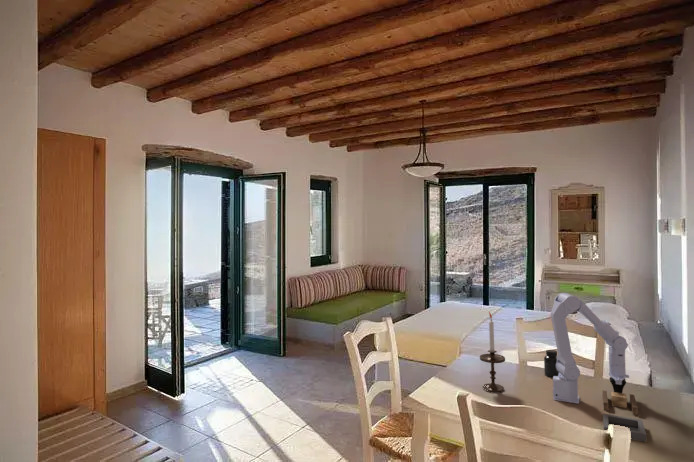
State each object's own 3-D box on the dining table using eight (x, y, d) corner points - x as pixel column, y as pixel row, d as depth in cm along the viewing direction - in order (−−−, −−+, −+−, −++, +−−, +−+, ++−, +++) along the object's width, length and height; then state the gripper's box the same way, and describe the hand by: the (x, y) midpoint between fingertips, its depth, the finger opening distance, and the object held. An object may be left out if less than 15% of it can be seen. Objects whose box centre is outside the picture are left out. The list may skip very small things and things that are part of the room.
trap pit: (604, 434, 145) (604, 426, 145) (603, 420, 155) (602, 413, 155) (646, 442, 139) (646, 434, 139) (642, 426, 149) (642, 420, 149)
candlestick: (479, 392, 185) (477, 313, 185) (481, 383, 195) (479, 309, 195) (505, 394, 181) (503, 314, 181) (506, 386, 191) (504, 310, 191)
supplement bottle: (561, 378, 199) (561, 353, 199) (546, 377, 200) (545, 352, 200) (557, 373, 206) (556, 349, 206) (542, 372, 207) (542, 348, 207)
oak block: (611, 405, 168) (611, 395, 168) (611, 401, 172) (611, 391, 172) (626, 408, 165) (626, 398, 165) (626, 403, 169) (625, 393, 169)
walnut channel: (603, 410, 163) (603, 402, 163) (602, 397, 175) (602, 390, 175) (637, 415, 158) (637, 407, 158) (634, 402, 170) (634, 394, 170)
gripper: (630, 370, 165) (631, 404, 164) (627, 360, 177) (628, 391, 177) (609, 367, 168) (610, 401, 168) (607, 357, 181) (608, 389, 181)
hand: (618, 396), depth 173 cm, fingers closed
